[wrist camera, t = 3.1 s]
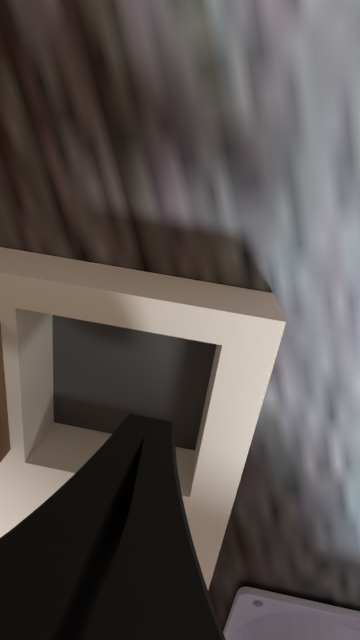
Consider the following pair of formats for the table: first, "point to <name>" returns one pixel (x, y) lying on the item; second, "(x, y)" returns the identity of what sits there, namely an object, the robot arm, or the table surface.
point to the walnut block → (3, 410)
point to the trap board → (130, 378)
